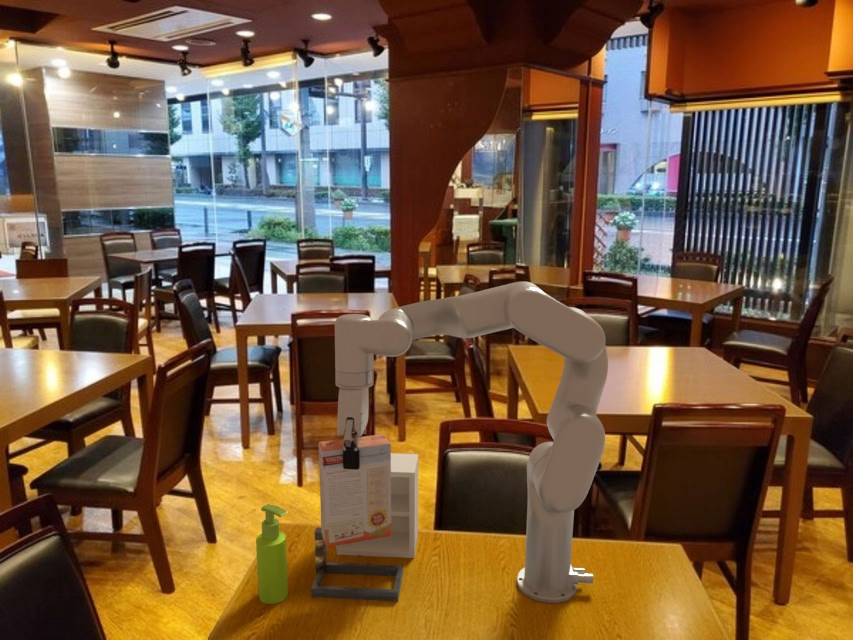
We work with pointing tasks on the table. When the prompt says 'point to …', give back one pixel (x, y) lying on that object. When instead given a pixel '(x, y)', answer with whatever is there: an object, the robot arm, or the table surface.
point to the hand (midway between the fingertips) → (355, 459)
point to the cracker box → (355, 491)
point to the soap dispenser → (272, 558)
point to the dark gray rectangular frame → (352, 568)
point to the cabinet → (395, 514)
